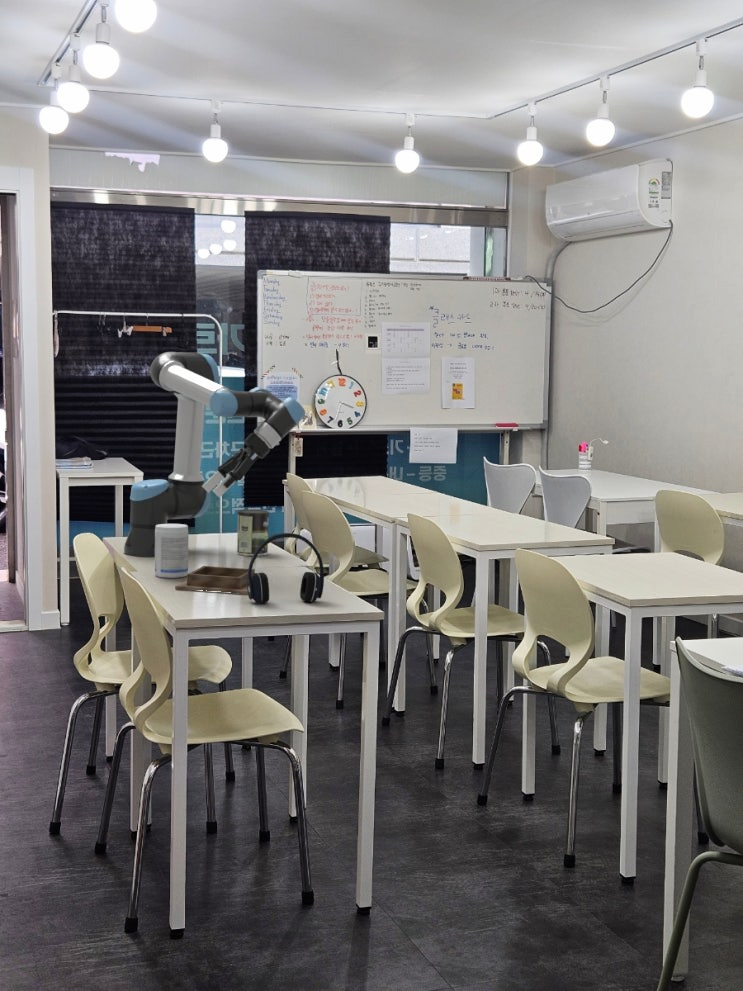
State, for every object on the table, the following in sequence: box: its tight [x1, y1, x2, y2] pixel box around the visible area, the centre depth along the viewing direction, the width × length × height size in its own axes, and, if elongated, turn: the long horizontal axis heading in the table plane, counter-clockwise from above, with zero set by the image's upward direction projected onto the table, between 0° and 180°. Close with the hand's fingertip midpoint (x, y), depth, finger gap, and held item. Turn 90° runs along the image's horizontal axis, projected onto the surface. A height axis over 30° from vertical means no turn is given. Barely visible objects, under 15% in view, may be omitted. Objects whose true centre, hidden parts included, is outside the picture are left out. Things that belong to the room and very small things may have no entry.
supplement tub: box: [154, 523, 189, 579], centre depth 340 cm, size 10×10×15 cm
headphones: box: [247, 532, 325, 604], centre depth 308 cm, size 20×7×18 cm, turn 108°
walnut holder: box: [174, 565, 256, 595], centre depth 328 cm, size 20×20×4 cm
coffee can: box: [236, 509, 270, 557], centre depth 386 cm, size 10×10×14 cm
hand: (210, 492), depth 341 cm, fingers open, 13 cm apart
